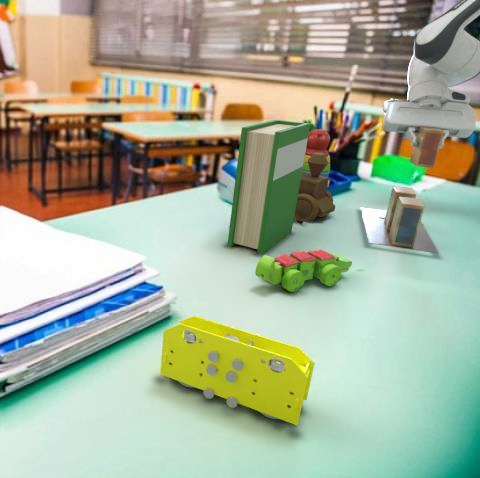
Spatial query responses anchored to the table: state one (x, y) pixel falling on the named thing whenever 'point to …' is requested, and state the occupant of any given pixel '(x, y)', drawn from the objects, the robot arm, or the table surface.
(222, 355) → the yellow toy chassis
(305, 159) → the stacking bear
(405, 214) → the tile
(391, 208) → the tile
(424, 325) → the table surface
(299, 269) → the toy crocodile
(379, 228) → the word board
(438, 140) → the tile
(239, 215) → the hardback book
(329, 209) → the wooden toy train
